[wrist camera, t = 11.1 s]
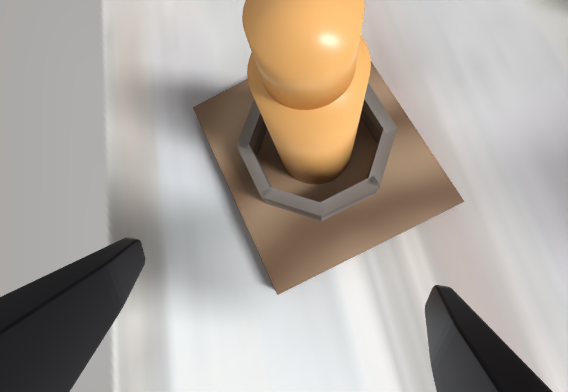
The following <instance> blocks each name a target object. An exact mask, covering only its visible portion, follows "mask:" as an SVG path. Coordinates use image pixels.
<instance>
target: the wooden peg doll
mask: <svg viewBox="0 0 568 392" xmlns="http://www.w3.org/2000/svg"><path fill="white" fill-rule="evenodd" d="M363 16H364V0H246V1H245V4H244V8H243V16H242V19H243V27H244V31H245V34H246V37H247V40H248V42H249V45H250V48H251V51H252V53H251V56H250V59H249V63H248V71H247V75H248V83H249V87H250V90H251V92H252V95H253V97H254V99H255V102H256V104H257V106H258V108H259V111H260V113H261V115H262V117H263V120H264V122H265V124H266V126H267V129H268V131H269V133H270V136H271V138H272V140H273V142H274V145H275V147H276V149H277V151H278V154H279V156H280V158H281V160H282V163H283V165H284V167H285V169H286V170H287V171H288V173H289V174H290V175H291V176H292V177H294V178H295V179H297V180H298V181H300V182H303V183H306V184H312V185H318V184H324V183H327V182H330V181H332V180H334V179H336V178H337V177H338V176H340V175H341V174H342V173H343V172H344V170H345V169H346V167H347V166H348V164H349V161H350V158H351V154H352V150H353V145H354V141H355V137H356V132H357V128H358V124H359V119H360V115H361V111H362V106H363V102H364V98H365V93H366V89H367V84H368V80H369V76H370V69H371V59H370V54H369V50H368V47H367V45H366V43H365V41H364V39H363V38H362V36H361V29H362V22H363Z"/></svg>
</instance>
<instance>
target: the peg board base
mask: <svg viewBox="0 0 568 392" xmlns="http://www.w3.org/2000/svg"><path fill="white" fill-rule="evenodd" d="M193 109H194V111H195V113H196V115H197V118H198V120H199V122H200V124H201V126H202V129H203V131H204V133H205V135H206V138H207V140H208V142H209V144H210V146H211V149H212V151H213V153H214V155H215V157H216V160H217V162H218V164H219V166H220V168H221V171H222V173H223V175H224V177H225V180H226V182H227V184H228V186H229V188H230V191H231V193H232V195H233V197H234V199H235V202H236V204H237V206H238V208H239V210H240V213H241V215H242V217H243V219H244V222H245V224H246V226H247V228H248V230H249V233H250V235H251V237H252V239H253V241H254V244H255V246H256V248H257V250H258V252H259V255H260V257H261V259H262V261H263V264H264V266H265V268H266V270H267V272H268V275H269V277H270V279H271V281H272V283H273V286H274V288H275V290H276V292H277V295H278V294H280V293H282V292H284V291H286V290H288V289H290V288H292V287H294V286H296V285H298V284H300V283H302V282H304V281H306V280H308V279H310V278H312V277H314V276H316V275H318V274H320V273H322V272H324V271H326V270H328V269H330V268H332V267H334V266H336V265H338V264H340V263H342V262H344V261H346V260H348V259H350V258H352V257H354V256H356V255H358V254H360V253H362V252H364V251H366V250H368V249H370V248H372V247H374V246H376V245H378V244H380V243H382V242H384V241H386V240H388V239H390V238H392V237H394V236H396V235H398V234H400V233H402V232H404V231H406V230H408V229H410V228H412V227H414V226H416V225H418V224H420V223H422V222H424V221H426V220H428V219H430V218H432V217H434V216H436V215H438V214H440V213H442V212H444V211H446V210H448V209H450V208H452V207H454V206H456V205H458V204H460V203H462V202H464V200H463V199H462V197H461V196H460V194H459V193H458V191H457V190H456V188H455V187H454V185H453V184H452V182H451V181H450V179H449V178H448V176H447V175H446V173H445V172H444V170H443V169H442V167H441V166H440V164H439V163H438V161H437V160H436V158H435V157H434V155H433V154H432V152H431V151H430V149H429V148H428V146H427V145H426V143H425V142H424V140H423V139H422V137H421V136H420V134H419V133H418V131H417V130H416V128H415V127H414V125H413V124H412V122H411V121H410V119H409V118H408V116H407V115H406V113H405V112H404V110H403V109H402V107H401V106H400V104H399V103H398V101H397V100H396V98H395V97H394V95H393V94H392V92H391V91H390V89H389V88H388V86H387V85H386V83H385V82H384V80H383V79H382V77H381V76H380V74H379V73H378V71H377V70H376V68H375V67H374V65H373V64H372V62H371V69H370V76H369V80H368V84H367V89H366V93H365V98H364V102H363V106H362V111H361V115H360V119H359V124H358V128H357V132H356V137H355V141H354V145H353V150H352V154H351V158H350V161H349V164H348V166H347V167H346V169H345V170H344V172H343V173H342V174H341V175H340V176H338V177H337V178H336V179H334V180H332V181H330V182H327V183H324V184H318V185H312V184H306V183H303V182H300V181H298V180H297V179H295V178H294V177H292V176H291V175H290V174H289V173H288V171H287V170H286V169H285V167H284V165H283V163H282V160H281V158H280V156H279V154H278V151H277V149H276V147H275V145H274V142H273V140H272V138H271V136H270V133H269V131H268V129H267V126H266V124H265V122H264V120H263V117H262V115H261V113H260V111H259V108H258V106H257V104H256V102H255V99H254V97H253V95H252V92H251V90H250V87H249V83H248V79H247V80H245V81H243V82H241V83H239V84H238V85H236V86H234V87H232V88H230V89H228V90H226V91H224V92H222V93H220V94H218V95H216V96H214V97H213V98H211V99H209V100H207V101H205V102H203V103H201V104H199V105H197V106H195V107H193Z"/></svg>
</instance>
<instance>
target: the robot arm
mask: <svg viewBox="0 0 568 392" xmlns="http://www.w3.org/2000/svg"><path fill="white" fill-rule="evenodd" d="M144 264H145V256H144V252H143V248H142V244H141V241H140V240H139V239H135V238H124V239H122V240H120V241H118V242H115V243H113V244H111V245H109V246H107V247H105V248H103V249H101V250H99V251H97V252H94V253H92V254H90V255H88V256H86V257H84V258H82V259H80V260H78V261H76V262H73V263H72V264H69V265H67V266H65V267H63V268H61V269H59V270H57V271H54V272H53V273H50V274H48V275H46V276H44V277H42V278H40V279H38V280H35V281H33V282H31V283H29V284H27V285H25V286H23V287H21V288H19V289H17V290H15V291H12V292H10V293H8V294H6V295H4V296H2V297H0V392H70V390H71V389H72V387H73V385H74V384H75V382H76V381H77V379H78V378H79V376H80V374H81V373H82V371H83V370H84V368H85V367H86V365H87V363H88V362H89V360H90V359H91V357H92V355H93V354H94V352H95V351H96V349H97V348H98V346H99V344H100V343H101V341H102V339H103V338H104V336H105V335H106V333H107V332H108V330H109V329H110V327H111V325H112V324H113V322H114V321H115V319H116V318H117V316H118V314H119V313H120V311H121V309H122V308H123V306H124V304H125V302H126V300H127V298H128V296H129V294H130V292H131V290H132V288H133V286H134V284H135V282H136V280H137V278H138V276H139V274H140V272H141V270H142V268H143V266H144ZM425 317H426V326H427V335H428V344H429V353H430V361H431V367H432V372H433V377H434V381H435V386H436V390H437V392H552V391H551V390H550V389H549V388H548V386H547V385H546V384H545V383H544V382H543V381H542V380H541V379H540V378H539V377H538V376H537V375H536V374H535V373H534V372H533V371H532V370H531V369H530V368H529V367H528V366H527V365H526V364H525V363H524V362H523V361H522V360H521V359H520V358H519V357H518V356H517V355H516V354H515V353H514V352H513V351H512V350H511V349H510V348H509V347H508V346H507V345H506V343H505V342H504V341H503V340H502V339H501V338H500V337H499V336H498V335H497V334H496V333H495V332H494V331H493V330H492V329H491V328H490V327H489V326H488V325H487V324H486V323H485V322H484V321H483V320H482V319H481V318H480V317H479V316H478V315H477V314H476V313H475V312H474V311H473V310H472V309H471V308H470V307H469V306H468V305H467V304H466V303H465V301H464V300H463V299H462V298H461V297H460V296H459V295H458V294H457V293H456V292H455V291H454V290H453V289H452V288H450V287H447V286H440V285H435V286H434V287H433V288H432V290H431V293H430V295H429V297H428V300H427V302H426V305H425Z"/></svg>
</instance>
